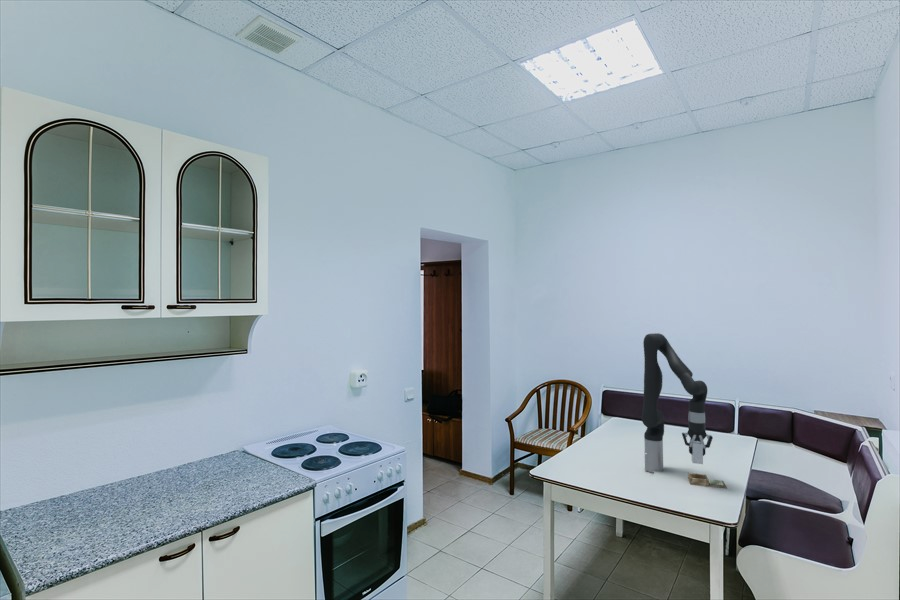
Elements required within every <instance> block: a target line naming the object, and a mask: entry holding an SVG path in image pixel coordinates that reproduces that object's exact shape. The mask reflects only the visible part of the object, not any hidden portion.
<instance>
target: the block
mask: <svg viewBox="0 0 900 600" xmlns="http://www.w3.org/2000/svg"><path fill="white" fill-rule="evenodd" d="M703 458H704V456H703V444H702V443H701V442H699V441H694V443H692V455H691V462H692V464H697V465H704V459H703Z"/></svg>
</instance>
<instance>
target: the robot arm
mask: <svg viewBox="0 0 900 600" xmlns="http://www.w3.org/2000/svg"><path fill="white" fill-rule="evenodd" d="M642 344H643V354H644V355H643V356H644V358H643V359H644V363H643V364H644V367H643V368H644V373H643V404H642V412H641V422H642V424H643V425H644V426H645V427H646V430H645V432H644V435H643V436H644V437H643V438H644V442H643V443H644V471H645V472H649V473H652V474H654V473H655V472H663V471H664V434H665V416H664V414H663V411H661V410H660V409H658V402H659V398H660V396H661V392H662V389H663V378H664V377H663V372H662V369H661V367H660V365H659V361H658V351H659V352H660V353H661V354H662V355H663V356H664V357H665V359H666V360H667V363H668V366H669V368H670V369H671V371H672V372H673V373H674V374H673V375H675V376H676V377H677V378H678V380H679V381H680V383H681V385H682V386H683V388H684V390H685V391H686V393H687V394H689V395H691V396H692V398H691V399H690V400H689V401H688V414H687V415H688V417H687V419H688V421H687V422H688V430H687V431H686V432H681V435H682V439H683V441H684V444H685V446H687V447H688V452H689V454H690V455H691V456H692V443H694V441H699V442H701V443H702V444H703V457H704V456H705V455H706V449H708V448H710V447H711V444H712V442H713V435H711V434H707V432H706V405H705V404H706V401H707V396H708V386H707V384H706V383H705V382H704V381H703V380H695V379H694V378H693V372H692V370H691V369H689V367H688V366H687V365H686V364H685V363H684V362H683V360H682V359H681V358H680V356H679V355H678V354H677V353H676V351H675V349H674V348H673V347H672V346H671V343H670V342H669V340H668V339H667V337H665V335H664V334H661V333H660V332H659V333H656V332H655V333H648V334H646V335H645V336H644V338H643V343H642ZM688 436H689V442H688V440H687V438H688ZM705 439H707V442H706V443H705V442H704V440H705Z"/></svg>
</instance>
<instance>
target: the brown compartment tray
mask: <svg viewBox="0 0 900 600" xmlns="http://www.w3.org/2000/svg"><path fill="white" fill-rule="evenodd" d="M687 479H688V481H689V484H690V486H691V485H693V486H699V487H700V486H701V487H707V488H717V489H726V490H727V489H728V487H727V485H726V484H725V481H723V480H721V479H720V480H719V479H709V478H708V476H707V474H700V473H692V472H688V473H687Z"/></svg>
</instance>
